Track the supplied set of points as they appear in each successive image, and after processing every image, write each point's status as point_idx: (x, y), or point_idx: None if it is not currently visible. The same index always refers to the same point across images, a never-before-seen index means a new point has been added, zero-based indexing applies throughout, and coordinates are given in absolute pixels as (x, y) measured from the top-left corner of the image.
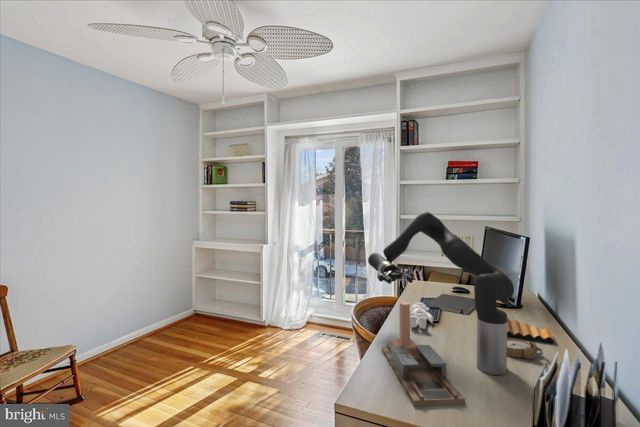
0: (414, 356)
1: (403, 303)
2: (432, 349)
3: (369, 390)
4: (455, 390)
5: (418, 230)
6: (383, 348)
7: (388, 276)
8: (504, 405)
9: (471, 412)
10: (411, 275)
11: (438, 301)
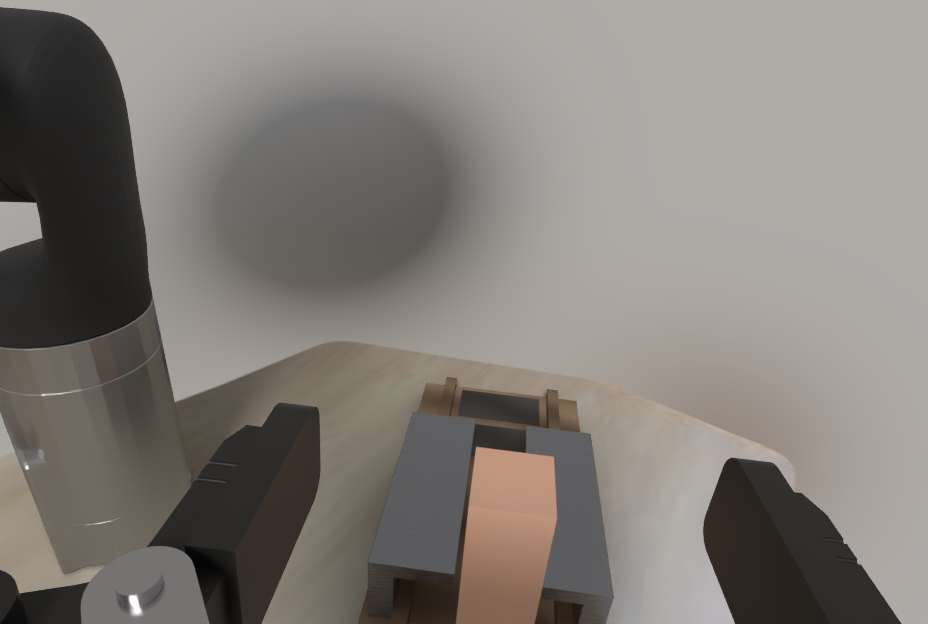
0: None
1: (528, 478)
2: (388, 510)
3: (707, 493)
4: (426, 409)
5: None
6: None
7: (820, 602)
8: (326, 374)
9: (433, 374)
10: (27, 604)
11: None
